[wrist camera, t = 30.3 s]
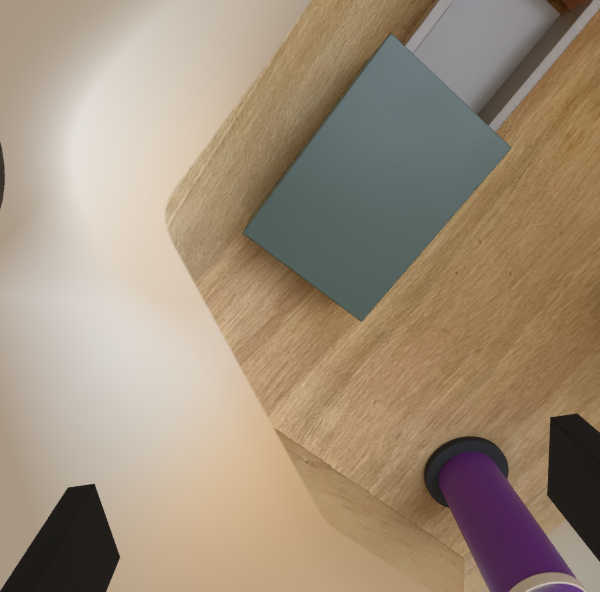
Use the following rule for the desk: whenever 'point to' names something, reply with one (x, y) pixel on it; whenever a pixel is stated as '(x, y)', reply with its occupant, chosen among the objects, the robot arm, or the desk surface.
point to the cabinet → (376, 180)
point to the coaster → (454, 449)
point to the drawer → (495, 48)
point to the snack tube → (502, 529)
